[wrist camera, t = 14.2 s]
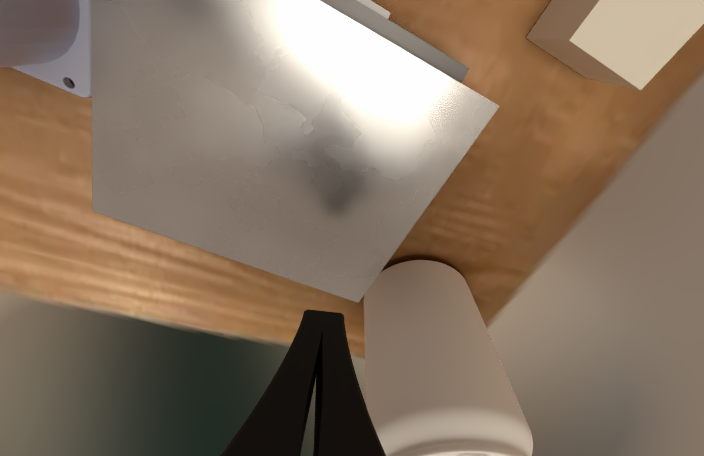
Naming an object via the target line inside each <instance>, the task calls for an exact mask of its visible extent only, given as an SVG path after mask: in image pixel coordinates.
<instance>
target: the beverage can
mask: <svg viewBox="0 0 704 456" xmlns="http://www.w3.org/2000/svg"><path fill="white" fill-rule="evenodd" d="M364 332H365V371H366V372H365V373H366V407H367V410H368V413H369V415H370V418H371V421H372V423H373V426H374V428H375V431H376V433H377V436H378V438H379V440H380V443H381V445H382V447H383V450H384V452H385V454H386V456H532V450H533V440H532V435H531V431H530V429H529V426H528V424H527V422H526V419H525V417H524V415H523V412H522V410H521V408H520V405H519V403H518V401H517V398H516V396H515V394H514V391H513V389H512V387H511V385H510V382H509V380H508V378H507V375H506V373H505V371H504V368H503V366H502V364H501V361H500V359H499V357H498V354H497V352H496V350H495V347H494V345H493V343H492V340H491V338H490V336H489V333H488V331H487V329H486V326H485V324H484V322H483V319H482V317H481V315H480V313H479V310H478V308H477V306H476V303H475V301H474V299H473V296H472V294H471V292H470V289H469V287H468V285H467V283H466V281H465V279H464V278H463V276H462V275H461V274H460V273H459V272H458V271H456V270H455V269H453V268H452V267H450V266H448V265H446V264H443V263H440V262H436V261H430V260H412V261H406V262H402V263H399V264H396V265H393V266H391V267H389V268H387V269H385V270H383V271H382V272H380V273H379V275H378V276H377V278H376V279H375V280H374V282H373V283H372V285H371V286H370V287H369V289H368V290H367V291H366V293H365V295H364Z"/></svg>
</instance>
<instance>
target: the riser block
mask: <svg viewBox="0 0 704 456" xmlns="http://www.w3.org/2000/svg"><path fill="white" fill-rule="evenodd" d="M703 24H704V0H551V2H550V3H549V5H548V6H547V8H546V9H545V10H544V12H543V13H542V15H541V16H540V18H539V19H538V21H537V22H536V24H535V25H534V27H533V28H532V30H531V31H530V32H529V34H528V35H527V37H526V38H527V39H528V40H530V41H531V42H533V43H534V44H536V45H537V46H539V47H540V48H542V49H543V50H545V51H546V52H548V53H549V54H551V55H552V56H554V57H555V58H557V59H558V60H560V61H561V62H563V63H564V64H566V65H567V66H569V67H570V68H571V69H573V70H574V71H576V72H577V73H579V74H580V75H582V76H583V77H585V78H587V79H591V80H596V81H600V82H605V83H610V84H614V85H619V86H623V87H628V88H632V89H637V90H641V89H642V88H643V87H644V86H645V85H646V84H647V83H648V82H649V81H650V80H651V79H652V78H653V77H654V76H655V75H656V74H657V72H658V71H659V70H660V69H661V68H662V67H663V66H664V65H665V64H666V63H667V62H668V61H669V60H670V59H671V58H672V57H673V55H674V54H675V53H676V52H677V51H678V50H679V49H680V48H681V47H682V46H683V45H684V44H685V43H686V42H687V41H688V40H689V39H690V37H691V36H692V35H693V34H694V33H695V32H696V31H697V30H698V29H699V28H700V27H701V26H702V25H703Z"/></svg>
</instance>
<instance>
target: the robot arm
mask: <svg viewBox="0 0 704 456" xmlns="http://www.w3.org/2000/svg"><path fill="white" fill-rule="evenodd" d="M3 67H11V68H13V69H16V70H18V71H20V72H23V73H25V74H27V75H30V76H32V77H35V78H37V79H39V80H42V81H44V82H46V83H49V84H51V85H54V86H56V87H58V88H61V89H63V90H65V91H68V92H70V93H73V94H75V95H77V96H80V97H83V98H88V97H92V91H91V0H0V68H3ZM69 78H70V79H71V80H72V81H73V82H74V84H75V86H73V85H72V84H71V83H70V80H69ZM315 379H316V400H315V429H314V451H313V456H386V454H385V452H384V450H383V447H382V445H381V443H380V440H379V438H378V436H377V433H376V431H375V428H374V426H373V423H372V421H371V418H370V415H369V413H368V410H367V407H366V405H365V402H364V399H363V396H362V393H361V390H360V387H359V384H358V380H357V377H356V374H355V371H354V367H353V363H352V359H351V355H350V351H349V347H348V342H347V337H346V331H345V324H344V315H343V314H342V313H334V312H325V311H316V310H306V311H304V315H303V318H302V321H301V324H300V326H299V329H298V331H297V334H296V336H295V338H294V340H293V342H292V345H291V346H290V348H289V351H288V352H287V354H286V356H285V358H284V360H283V362H282V364H281V366H280V368H279V369H278V371H277V373H276V374H275V376H274V378H273V379H272V381H271V383H270V385H269V386H268V388H267V389H266V391H265V393H264V394H263V396H262V397H261V399H260V401H259V402H258V404H257V405H256V407H255V408H254V410H253V411H252V413H251V414H250V416H249V417H248V419H247V420H246V422H245V423H244V424H243V426H242V427H241V429H240V430H239V431H238V433H237V434H236V436H235V437H234V439H233V440H232V441H231V443H230V444H229V445H228V447H227V448H226V449H225V451H224V452H223V453H222V455H221V456H300V454H301V448H302V442H303V437H304V432H305V428H306V423H307V418H308V413H309V408H310V403H311V398H312V393H313V389H314V383H315Z"/></svg>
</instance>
